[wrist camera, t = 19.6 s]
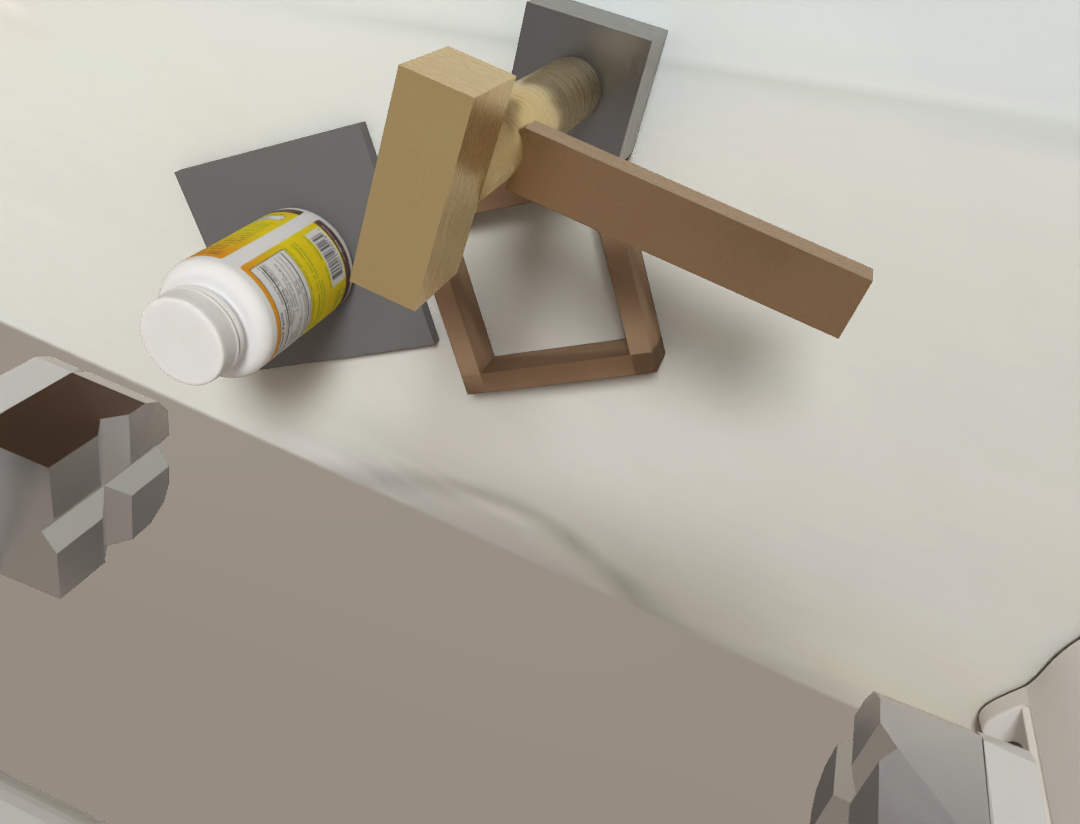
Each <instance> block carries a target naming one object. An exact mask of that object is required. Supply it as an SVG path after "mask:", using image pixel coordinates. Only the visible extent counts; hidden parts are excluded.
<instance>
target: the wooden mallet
mask: <svg viewBox="0 0 1080 824" xmlns="http://www.w3.org/2000/svg"><path fill="white" fill-rule="evenodd" d="M515 80H516V76H515V75H513V74H511V73H508V72H506V71H504V70H502V69H499V68H497V67H495V66H492V65H490V64H488V63H485V62H483V61H481V60H479V59H476V58H474V57H472V56H469V55H467V54H465V53H462V52H460V51H458V50H456V49H453V48H451V47H449V46H448V47H445V48H442V49H440V50H437V51H434V52H432V53H429V54H426V55H424V56H421V57H418V58H416V59H413V60H410V61H408V62H405V63H402V64H400V65H399V66H398V71H397V75H396V79H395V84H394V88H393V93H392V97H391V101H390V106H389V110H388V114H387V119H386V123H385V128H384V132H383V136H382V141H381V145H380V150H379V154H378V158H377V163H376V167H375V171H374V176H373V180H372V185H371V189H370V193H369V198H368V202H367V207H366V211H365V215H364V220H363V224H362V228H361V233H360V237H359V242H358V246H357V250H356V255H355V259H354V264H353V268H352V272H351V277H350V282H353V283H355V284H357V285H359V286H361V287H363V288H365V289H368V290H370V291H372V292H374V293H376V294H378V295H380V296H383V297H385V298H387V299H389V300H391V301H393V302H395V303H398V304H400V305H402V306H404V307H406V308H408V309H410V310H413V311H416V310H417V309H418V308H419V307H420V306H422V305H423V304H424V303H425V302H426V301H427V300H428V299H429V298H430V297H431V296H432V295H434V294H435V293H436V292H437V291H438V290H439V289H440V288H441V287H442V286H443V285H445V284H446V283H447V282H448V281H449V280H450V279H451V278H452V277H453V276H454V275H456V274H457V272H458V269H459V265H460V262H461V259H462V255H463V252H464V249H465V245H466V242H467V239H468V235H469V232H470V229H471V226H472V222H473V219H474V216H475V212H476V209H477V206H478V202H479V201H481V200H482V199H483V198H485V197H486V196H487V195H488V194H490V193H491V192H492V191H493V190H495V189H496V188H497V187H499V186H500V185H501V184H502V183H504V182H505V181H506V180H508V181H507V184H506V187H505V189H506V190H508V191H511V192H513V193H515V194H517V195H520V196H522V197H524V198H526V199H529V200H531V201H533V202H535V203H537V204H540V205H542V206H544V207H546V208H549V209H551V210H553V211H555V212H557V213H560V214H562V215H564V216H566V217H569V218H571V219H573V220H575V221H578V222H580V223H582V224H584V225H586V226H589V227H591V228H593V229H595V230H598V231H600V232H602V233H604V234H606V235H609V236H611V237H613V238H615V239H618V240H620V241H622V242H624V243H627V244H629V245H631V246H633V247H635V248H638V249H640V250H642V251H644V252H647V253H649V254H651V255H653V256H656V257H658V258H660V259H662V260H664V261H667V262H669V263H671V264H673V265H676V266H678V267H680V268H682V269H684V270H687V271H689V272H691V273H693V274H696V275H698V276H700V277H702V278H705V279H707V280H709V281H711V282H713V283H716V284H718V285H720V286H722V287H725V288H727V289H729V290H731V291H734V292H736V293H738V294H740V295H742V296H745V297H747V298H749V299H751V300H754V301H756V302H758V303H760V304H762V305H765V306H767V307H769V308H771V309H774V310H776V311H778V312H780V313H783V314H785V315H787V316H789V317H791V318H794V319H796V320H798V321H800V322H803V323H805V324H807V325H809V326H811V327H814V328H816V329H818V330H820V331H823V332H825V333H827V334H829V335H832V336H834V337H836V338H838V339H839V337H840V335H841V333H842V332H843V330H844V328H845V327H846V325H847V323H848V322H849V320H850V318H851V317H852V315H853V313H854V312H855V310H856V308H857V307H858V305H859V303H860V302H861V300H862V298H863V296H864V295H865V293H866V291H867V290H868V288H869V286H870V285H871V283H872V281H873V269H872V268H870V267H867V266H865V265H863V264H861V263H858V262H856V261H854V260H851V259H849V258H847V257H845V256H842V255H840V254H838V253H836V252H833V251H831V250H829V249H826V248H824V247H822V246H820V245H817V244H815V243H813V242H811V241H808V240H806V239H804V238H801V237H799V236H797V235H795V234H792V233H790V232H788V231H786V230H783V229H781V228H779V227H776V226H774V225H772V224H770V223H767V222H765V221H763V220H761V219H758V218H756V217H754V216H751V215H749V214H747V213H745V212H742V211H740V210H738V209H736V208H733V207H731V206H729V205H726V204H724V203H722V202H720V201H717V200H715V199H713V198H710V197H708V196H706V195H704V194H701V193H699V192H697V191H695V190H692V189H690V188H688V187H685V186H683V185H681V184H679V183H676V182H674V181H672V180H670V179H667V178H665V177H663V176H660V175H658V174H656V173H654V172H651V171H649V170H647V169H645V168H642V167H640V166H638V165H635V164H633V163H631V162H629V161H626V160H624V159H622V158H620V157H617V156H615V155H613V154H610V153H608V152H606V151H604V150H601V149H599V148H597V147H595V146H592V145H590V144H588V143H585V142H583V141H581V140H579V139H576V138H574V137H572V136H569V135H567V134H566V133H567V132H569V131H570V130H571V129H572V128H574V127H575V126H576V125H578V124H579V123H580V122H581V121H583V120H584V119H585V118H587V117H588V116H589V115H590V114H591V113H592V112H593V111H594V110H595V108H596V106H597V104H598V102H599V99H600V91H601V89H600V82H599V79H598V76H597V74H596V72H595V71H594V69H593V68H592V67H591V66H590V65H589V64H588V63H587V62H585V61H584V60H582V59H580V58H577V57H562V58H559V59H557V60H555V61H553V62H551V63H549V64H548V65H546V66H544V67H542V68H540V69H538V70H536V71H535V72H533V73H531V74H529V75H527V76H525V77H523V78H521V79H520V80H518V81H516V82H515Z"/></svg>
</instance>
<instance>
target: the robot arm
mask: <svg viewBox="0 0 1080 824" xmlns="http://www.w3.org/2000/svg"><path fill="white" fill-rule="evenodd" d="M168 435H169V422H168V410H167V409H166V408H164V407H163V406H162V405H161V404H160V403H159V402H157V401H155V400H152V399H150V398H148V397H146V396H143V395H141V394H139V393H136V392H134V391H132V390H129V389H127V388H125V387H123V386H120V385H118V384H115V383H113V382H111V381H109V380H106V379H104V378H102V377H99V376H97V375H95V374H93V373H90V372H88V371H86V372H85V371H83V370H81V369H79V368H76V367H74V366H72V365H70V364H67V363H65V362H63V361H60V360H58V359H56V358H53V357H34V358H33V359H31V360H29V361H27V362H25V363H23V364H21V365H20V366H18V367H16V368H14V369H12V370H10V371H8V372H6V373H4V374H2V375H0V574H2V575H4V576H6V577H9V578H12V579H14V580H16V581H18V582H21V583H23V584H26V585H28V586H30V587H33V588H35V589H38V590H40V591H42V592H45V593H47V594H50V595H52V596H54V597H57V598H59V599H61V598H62V597H64V596H65V595H66V594H67V593H68V592H70V591H71V590H72V589H73V588H75V587H76V586H77V585H78V584H79V583H81V582H82V581H83V580H84V579H85V578H87V577H88V576H89V575H90V574H91V573H92V572H94V571H95V570H96V569H97V568H99V567H100V566H101V565H102V564H103V563H105V556H106V548H107V546H108V545H111V544H115V543H119V542H123V541H127V540H131V539H133V538H134V537H135V536H137V535H138V534H139V533H140V532H141V531H142V530H143V529H145V528H146V527H147V526H148V525H149V524H150V523H151V522H152V520H153V518H154V517H155V515H156V514H157V512H158V510H159V509H160V507H161V506H162V504H163V503H164V499H165V496H166V492H167V489H168V485H169V465H168V463H167V461H166V459H165V458H164V456H163V454H162V452H161V450H160V449H159V447H158V445H159V444H160V443H161V442H162V441H163V440H164V439H165V438H166V437H167V436H168ZM979 723H980V726H981V730H982V733H981V732H978V731H975V732H974V731H972V730H971V729H968V728H966V727H963V726H961V725H958V724H956V723H953V722H951V721H948V720H945V719H943V718H940V717H938V716H935V715H933V714H930V713H928V712H925V711H923V710H920V709H918V708H915V707H913V706H910V705H908V704H905V703H903V702H900V701H898V700H895V699H893V698H890V697H887V696H885V695H882V694H880V693H877V692H875V691H874V692H873V693H872V694H871V695H869V696H868V697H867V698H866V699H865V701H864V702H863V704H862V705H861V707H860V708H859V710H858V712H857V713H856V715H855V720H854V735H853V739H852V740H848V741H845V742H843V743H840V744H837V746H836V748H835V749H834V751H833V753H832V755H831V757H830V758H829V760H828V762H827V764H826V765H825V768H824V771H823V773H822V776H821V779H820V781H819V784H818V787H817V789H816V793H815V798H814V803H813V807H812V812H811V821H810V824H1080V640H1078V641H1076V642H1075V643H1074V644H1072V645H1071V646H1069V647H1068V648H1067V649H1065V650H1064V651H1063V652H1062V653H1060V654H1059V655H1058V656H1057V657H1056V658H1055V659H1054V660H1053V661H1052V662H1051V663H1050V664H1049V665H1048V666H1047V667H1046V668H1045V670H1044V671H1043V672H1042V673H1041V674H1040V675H1039V676H1038V677H1037V678H1036V679H1035V680H1034V681H1032V682H1031V683H1030V684H1028V685H1027V686H1026V687H1023V688H1021V689H1018V690H1016V691H1014V692H1011V693H1009V694H1007V695H1004V696H1002V697H1000V698H998V699H996V700H994V701H992V702H991V703H989V704H988V705H986V706H985V707H984V708H983V709H982V710H981V712H980V714H979ZM1010 741H1015V742H1016V743H1010ZM0 824H109V823H107V822H105V821H103V820H100V819H98V818H96V817H94V816H92V815H90V814H88V813H86V812H84V811H82V810H80V809H78V808H76V807H74V806H72V805H70V804H68V803H66V802H64V801H62V800H60V799H58V798H56V797H54V796H52V795H50V794H48V793H46V792H44V791H42V790H40V789H38V788H36V787H34V786H32V785H30V784H28V783H26V782H24V781H22V780H20V779H18V778H16V777H14V776H12V775H10V774H8V773H6V772H4V771H1V770H0Z"/></svg>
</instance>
